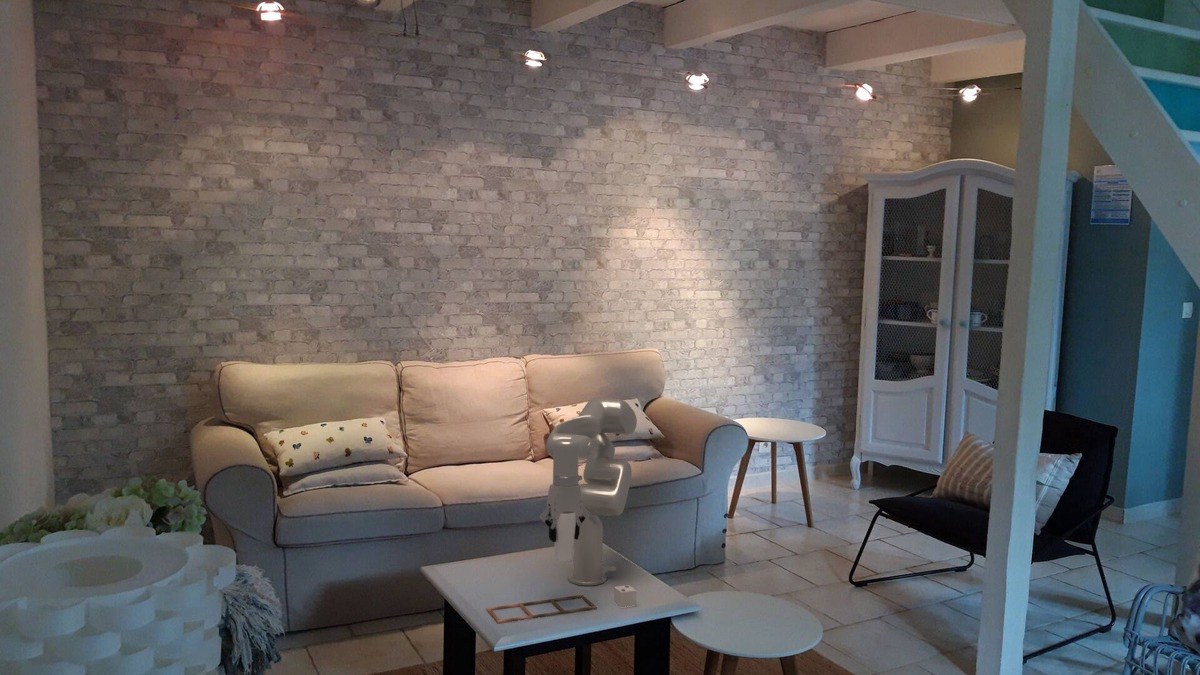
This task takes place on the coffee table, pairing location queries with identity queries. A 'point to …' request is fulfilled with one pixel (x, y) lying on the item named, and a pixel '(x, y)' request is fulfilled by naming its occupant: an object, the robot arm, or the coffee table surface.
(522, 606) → the copper window frame
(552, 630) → the coffee table surface
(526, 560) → the coffee table surface
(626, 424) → the robot arm
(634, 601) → the die
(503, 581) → the coffee table surface
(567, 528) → the drinking glass
